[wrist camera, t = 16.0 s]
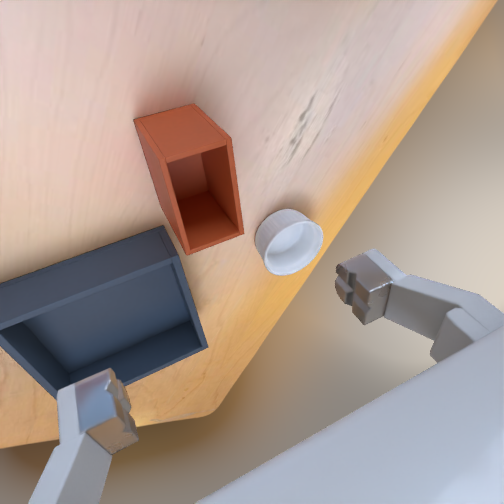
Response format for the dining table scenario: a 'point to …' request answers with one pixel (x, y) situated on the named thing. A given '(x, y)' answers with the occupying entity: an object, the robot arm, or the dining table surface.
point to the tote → (192, 175)
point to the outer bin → (102, 314)
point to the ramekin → (288, 241)
